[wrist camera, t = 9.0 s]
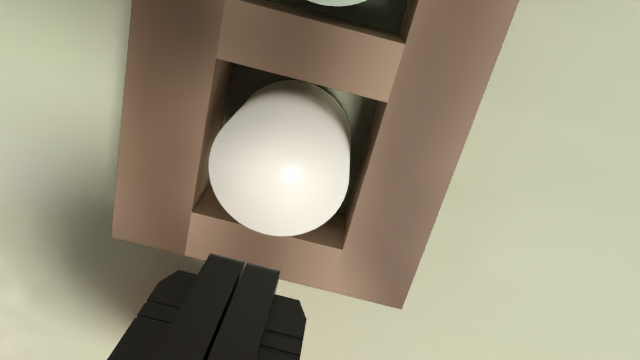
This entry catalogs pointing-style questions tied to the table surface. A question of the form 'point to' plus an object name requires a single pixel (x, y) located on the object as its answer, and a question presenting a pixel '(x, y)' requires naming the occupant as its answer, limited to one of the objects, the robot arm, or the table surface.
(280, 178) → the cream button
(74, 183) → the table surface
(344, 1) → the sage button
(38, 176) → the table surface
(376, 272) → the button board
